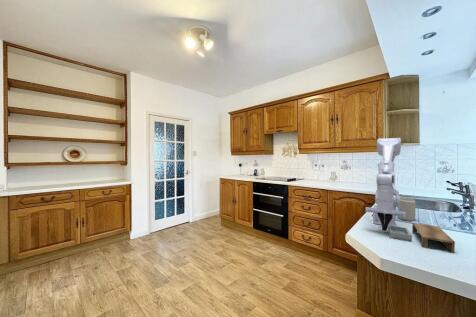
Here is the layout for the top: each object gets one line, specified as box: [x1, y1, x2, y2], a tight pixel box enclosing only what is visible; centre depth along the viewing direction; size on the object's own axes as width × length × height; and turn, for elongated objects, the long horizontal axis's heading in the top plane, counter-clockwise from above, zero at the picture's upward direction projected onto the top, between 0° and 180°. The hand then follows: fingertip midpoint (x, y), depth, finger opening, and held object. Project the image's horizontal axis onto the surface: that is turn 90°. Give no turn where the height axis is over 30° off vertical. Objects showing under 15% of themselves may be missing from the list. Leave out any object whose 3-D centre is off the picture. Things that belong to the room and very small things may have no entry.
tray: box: [387, 225, 413, 243], centre depth 88 cm, size 7×10×3 cm
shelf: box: [411, 222, 456, 254], centre depth 83 cm, size 9×18×4 cm, turn 149°
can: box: [397, 196, 417, 222], centre depth 111 cm, size 8×8×12 cm
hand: (384, 230), depth 91 cm, fingers closed
